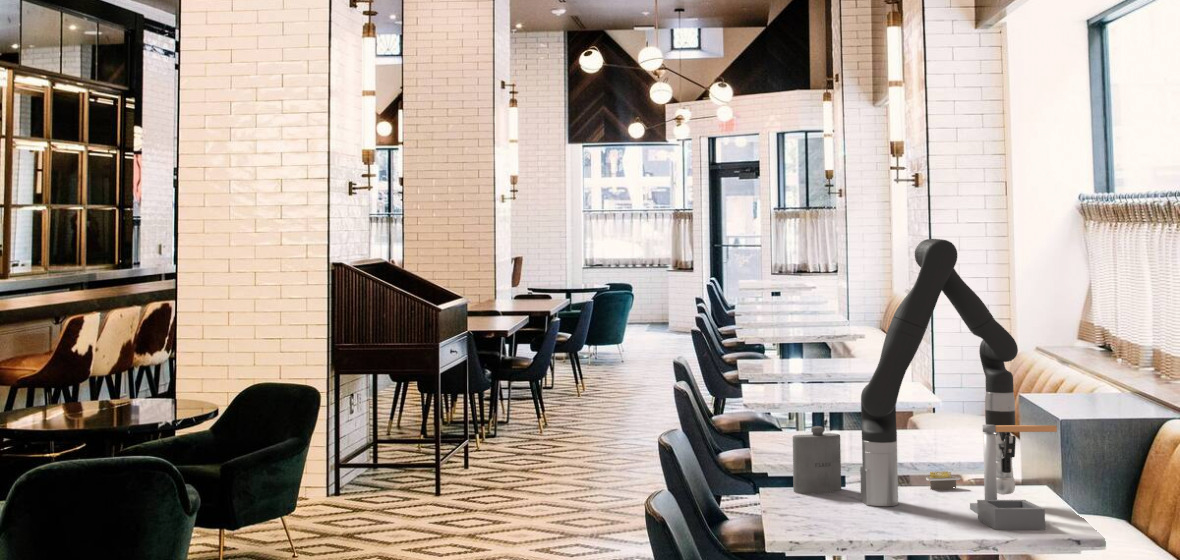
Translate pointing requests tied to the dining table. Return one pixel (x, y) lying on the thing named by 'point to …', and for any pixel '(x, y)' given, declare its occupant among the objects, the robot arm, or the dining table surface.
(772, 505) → the dining table surface
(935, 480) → the platform
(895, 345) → the robot arm
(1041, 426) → the slender peach stick
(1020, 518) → the plug dock
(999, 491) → the plastic bottle
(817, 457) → the flask
